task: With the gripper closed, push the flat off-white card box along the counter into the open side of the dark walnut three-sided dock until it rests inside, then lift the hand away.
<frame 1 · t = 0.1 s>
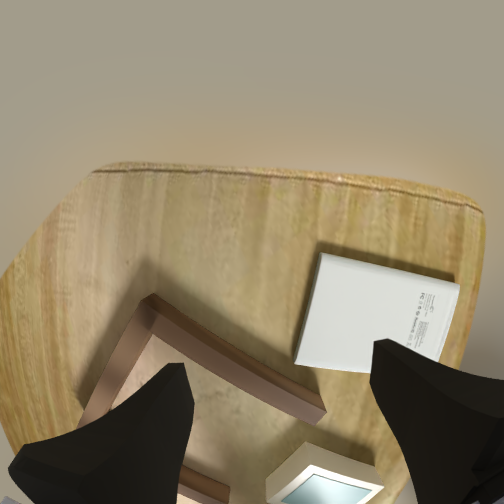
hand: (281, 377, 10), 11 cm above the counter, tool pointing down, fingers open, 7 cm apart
card box: (321, 473, 22), on the counter
external hard drive: (379, 318, 22), on the counter
dock: (190, 416, 22), on the counter
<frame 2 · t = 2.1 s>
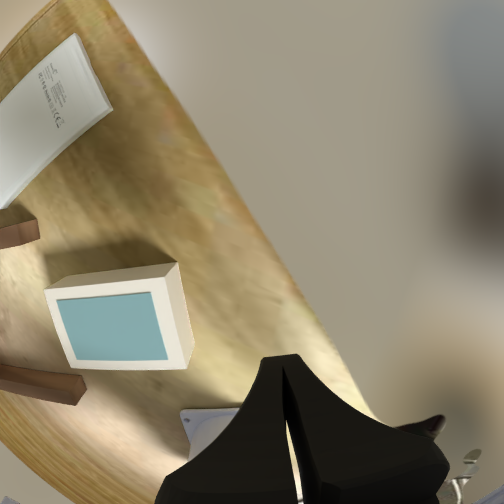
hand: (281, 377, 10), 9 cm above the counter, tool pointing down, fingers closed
card box: (128, 308, 20), on the counter
external hard drive: (39, 122, 17), on the counter
dock: (4, 312, 20), on the counter
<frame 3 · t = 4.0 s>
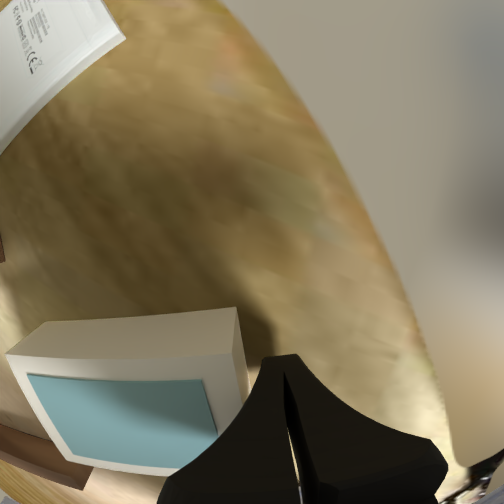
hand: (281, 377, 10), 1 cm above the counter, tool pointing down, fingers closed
card box: (146, 375, 12), on the counter, touching gripper
external hard drive: (9, 78, 9), on the counter
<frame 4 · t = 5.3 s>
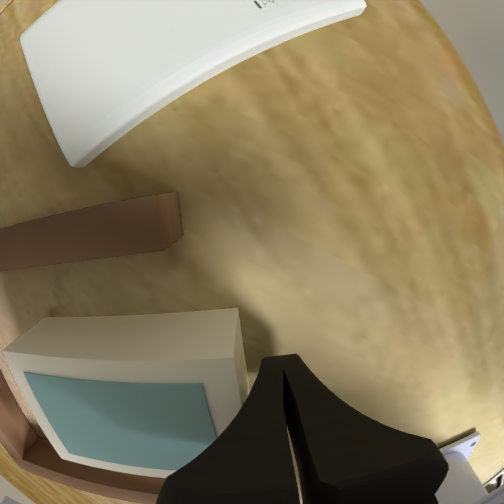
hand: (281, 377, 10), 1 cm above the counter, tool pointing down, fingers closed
card box: (145, 375, 12), on the counter, touching gripper
external hard drive: (176, 12, 9), on the counter
dock: (65, 374, 12), on the counter
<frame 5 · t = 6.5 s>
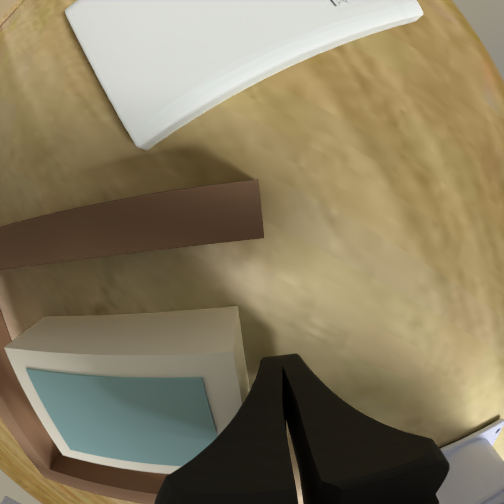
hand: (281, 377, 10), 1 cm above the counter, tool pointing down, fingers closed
card box: (146, 372, 12), on the counter
external hard drive: (240, 0, 9), on the counter
dock: (108, 377, 12), on the counter
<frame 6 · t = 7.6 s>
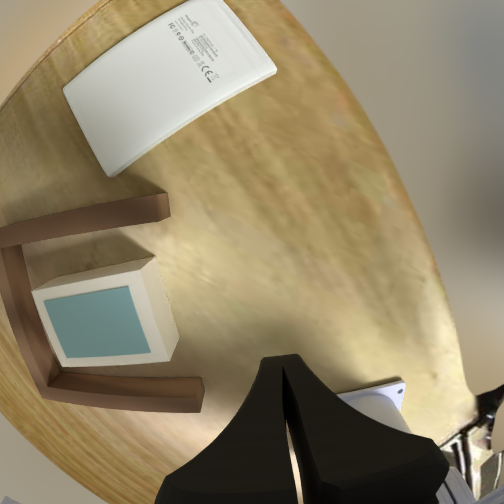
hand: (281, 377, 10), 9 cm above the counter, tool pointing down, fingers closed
card box: (113, 305, 20), on the counter
external hard drive: (164, 79, 17), on the counter
dock: (91, 310, 20), on the counter
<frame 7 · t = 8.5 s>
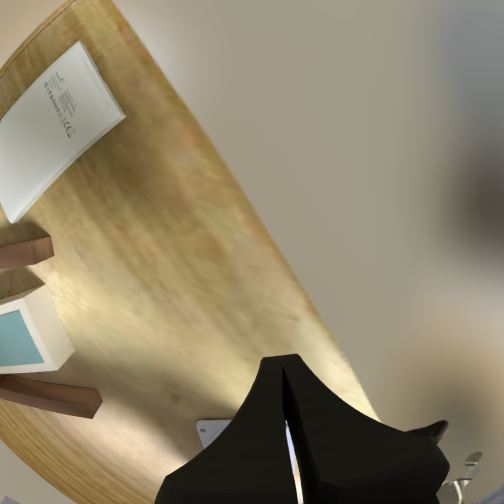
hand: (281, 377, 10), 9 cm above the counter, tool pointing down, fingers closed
card box: (30, 324, 21), on the counter
external hard drive: (48, 132, 18), on the counter
dock: (16, 327, 21), on the counter
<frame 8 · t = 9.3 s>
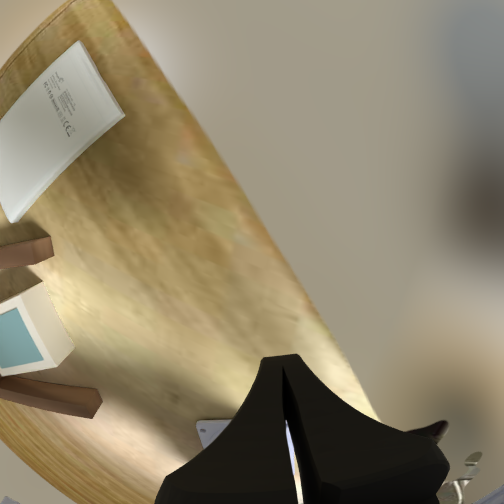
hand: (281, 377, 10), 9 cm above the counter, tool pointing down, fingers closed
card box: (30, 324, 21), on the counter
external hard drive: (47, 132, 18), on the counter
dock: (16, 327, 21), on the counter
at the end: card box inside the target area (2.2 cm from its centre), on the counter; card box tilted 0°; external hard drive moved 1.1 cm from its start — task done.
